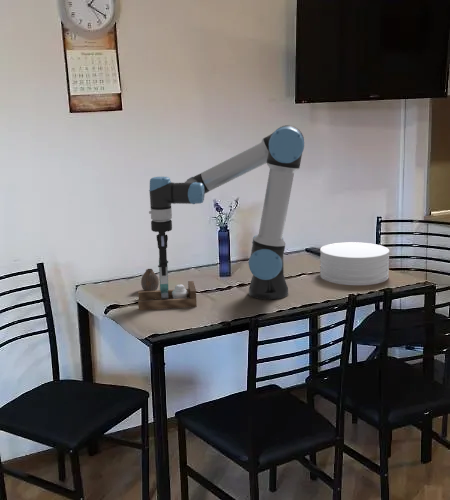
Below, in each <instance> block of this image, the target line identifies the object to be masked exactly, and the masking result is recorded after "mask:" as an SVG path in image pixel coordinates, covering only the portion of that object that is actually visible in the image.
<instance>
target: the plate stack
mask: <svg viewBox="0 0 450 500" xmlns="http://www.w3.org/2000/svg"><path fill="white" fill-rule="evenodd" d="M319 252H320V256H319V258H320V260H319V265H320V267H319V268H320V269H319V270H320V271H319V277H320V278H321V279H322V280H323V281H326V282H330V283H331V284H332V283H333V284H337V285H338V284H339V285H346V286H370V285H377V284H381V283H384V282H386V281H388V279H389V272H390V271H389V266H390V263H389V262H390V249H389V248H388V247H386V246H384V245H380V244H376V243H370V242H360V241H359V242H358V241H356V242H355V241H347V242H344V241H343V242H334V243H329V244H324V245H323V246H321V247H320V251H319Z"/></svg>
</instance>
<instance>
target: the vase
mask: <svg viewBox="0 0 450 500" xmlns="http://www.w3.org/2000/svg"><path fill="white" fill-rule="evenodd" d="M140 283H141V284H140V285H141V287H142V288H141V289H143V290H142V291H158V290H157V289H158V288H159V286H160V279H159V277H158V275H157V273H155V271H154V270H153V268H146V269H145V272H143V275H142V276H141V279H140Z"/></svg>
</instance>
